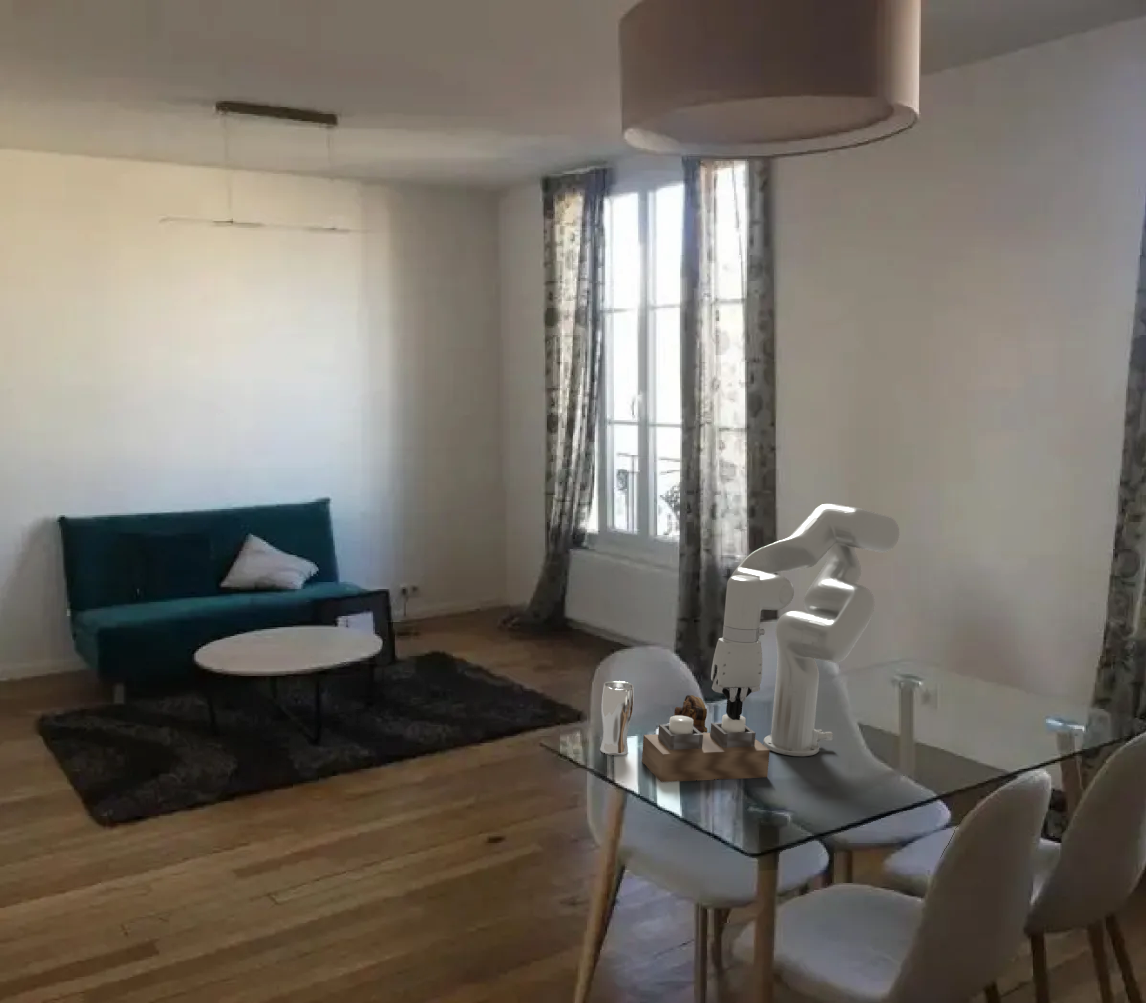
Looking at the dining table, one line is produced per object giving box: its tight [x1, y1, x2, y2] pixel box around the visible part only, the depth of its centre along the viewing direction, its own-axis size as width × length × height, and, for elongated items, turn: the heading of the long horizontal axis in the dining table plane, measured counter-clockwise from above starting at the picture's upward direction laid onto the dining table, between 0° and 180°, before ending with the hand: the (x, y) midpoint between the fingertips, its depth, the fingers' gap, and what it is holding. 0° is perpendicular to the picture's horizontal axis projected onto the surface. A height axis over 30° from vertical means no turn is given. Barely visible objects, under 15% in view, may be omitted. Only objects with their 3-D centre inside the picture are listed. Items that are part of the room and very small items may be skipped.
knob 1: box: [669, 715, 694, 734], centre depth 250 cm, size 5×5×5 cm
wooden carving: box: [673, 694, 708, 733], centre depth 272 cm, size 16×5×10 cm, turn 18°
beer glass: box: [600, 680, 635, 757], centre depth 260 cm, size 7×7×15 cm
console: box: [641, 722, 771, 783], centre depth 253 cm, size 24×12×9 cm, turn 106°
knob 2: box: [721, 713, 747, 733], centre depth 254 cm, size 5×5×5 cm
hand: (733, 717), depth 253 cm, fingers closed
